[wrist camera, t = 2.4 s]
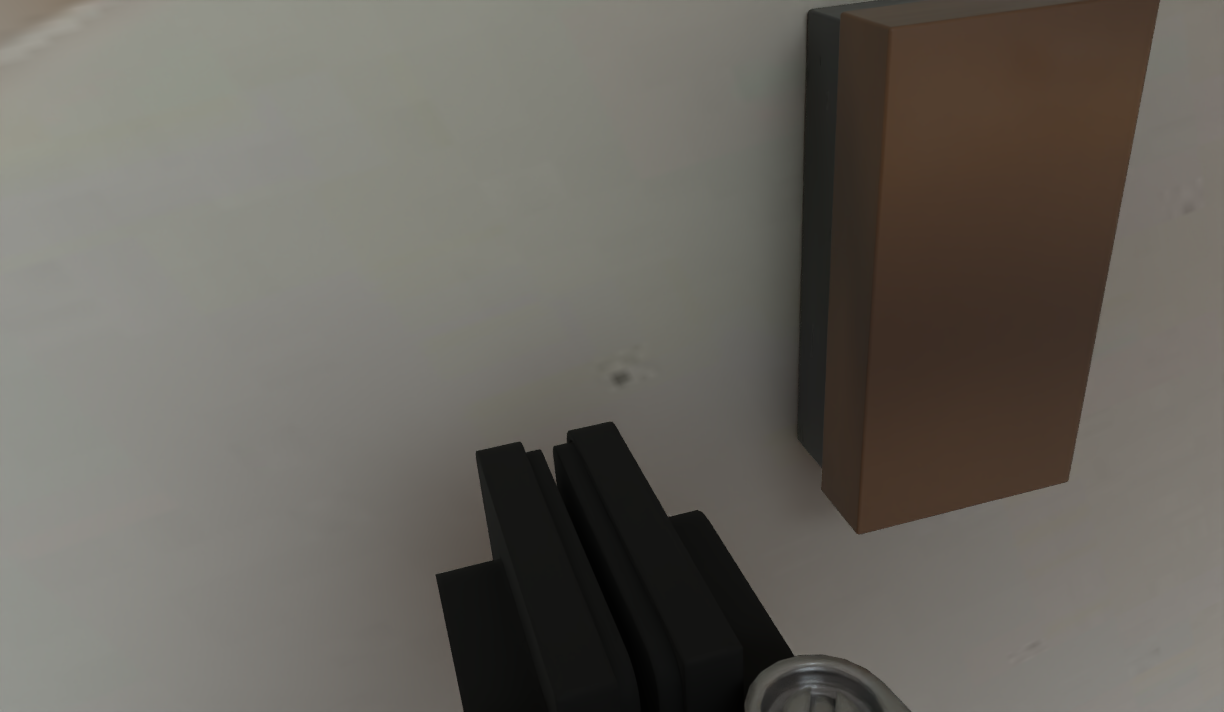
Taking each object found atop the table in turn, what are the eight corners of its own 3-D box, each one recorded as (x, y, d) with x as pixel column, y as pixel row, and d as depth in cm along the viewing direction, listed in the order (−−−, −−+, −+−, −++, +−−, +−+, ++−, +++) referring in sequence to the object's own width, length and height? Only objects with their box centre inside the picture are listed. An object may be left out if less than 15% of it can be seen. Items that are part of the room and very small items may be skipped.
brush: (796, -3, 16) (889, 27, 14) (1034, -33, 17) (1163, -10, 15) (787, 449, 21) (856, 536, 18) (977, 405, 21) (1069, 482, 19)
